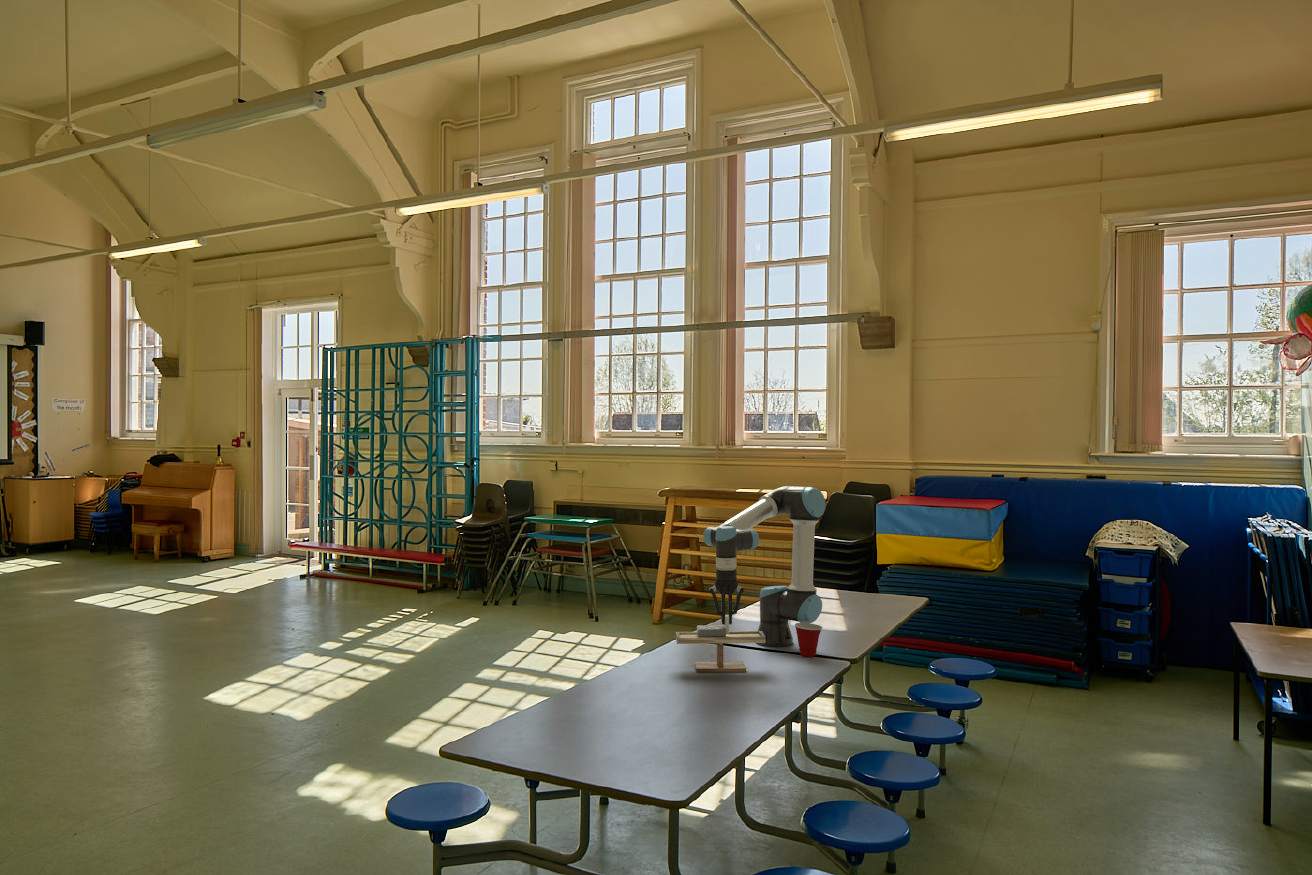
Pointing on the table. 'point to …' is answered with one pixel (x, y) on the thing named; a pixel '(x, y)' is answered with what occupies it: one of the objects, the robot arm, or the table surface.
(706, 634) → the iron block
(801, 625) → the plastic cup
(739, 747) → the table surface
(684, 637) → the seesaw beam
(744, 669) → the seesaw stand
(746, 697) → the table surface
